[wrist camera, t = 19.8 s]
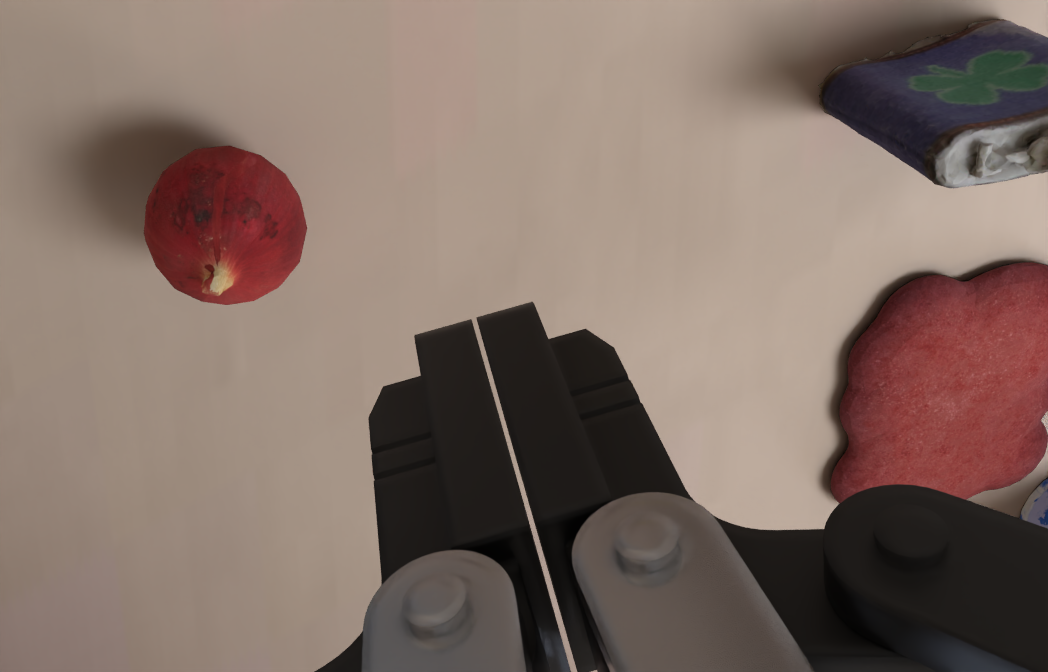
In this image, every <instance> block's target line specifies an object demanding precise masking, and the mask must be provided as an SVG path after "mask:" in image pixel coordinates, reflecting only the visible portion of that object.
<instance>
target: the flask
mask: <svg viewBox="0 0 1048 672" xmlns="http://www.w3.org/2000/svg"><path fill="white" fill-rule="evenodd" d="M968 27H969V28H968V29H967V30H966V29H965V30H963V31H961V32H957V33H954V34H950V35H945V36H942V37H941V35H938V36H935V37H933V38H929V37H927V38H926V39H924V40H923V41H917V42H916V43H915V44H914V45H913V44H912V47H910V48H909V49H907V50H906V51H905V52H904V53H898V54H895V53H893V52H892V51H890V52H889V53H888V54H886V55H885V56H883V57H882V58H880V59H876V60H870V59H867V58H865V60H862V61H859V62H852V63H849V64H846V65H840V66H838V67H837V68H836V69H835V70H833V71H832V72H831V73H830V75H829V76H828V77H827V78H826V79H825V81H824V82H823V83H821V84H820V85H818V86H819V87H820V88H821V91H820V95H819V96H820V105H821V106H822V108H823V109H824V112H825V113H827V114H829V115H831V116H833V117H835V118H836V119H838V120H840V121H841V122H843V123H844V124H846V125H848V126H849V127H850V128H852V129H853V130H855V131H856V132H858V133H859V134H860V135H862V136H864V137H866V138H868V139H869V140H871V141H873V142H874V143H876V144H878V145H879V146H881V147H883V148H884V149H885V150H886V151H888V152H889V153H891V154H893V155H894V156H895V157H897V158H899V159H900V160H901V161H903V162H905V163H906V164H908V165H909V166H911V167H913V168H914V169H916V170H917V171H918V172H920V173H921V174H923V175H924V176H925V177H927V178H928V179H929V180H931V181H932V182H933V183H934V184H937V185H940V186H944V187H947V188H959V187H966V186H972V185H982V184H990V183H996V182H1002V181H1007V180H1012V179H1016V178H1021V177H1025V176H1028V175H1030V174H1038V173H1044V172H1048V38H1047V37H1045V36H1043V35H1040V34H1038V33H1036V32H1033V31H1031V30H1029V29H1027V28H1025V27H1021V26H1018V25H1016V24H1015V23H1013V22H1011V21H1007V20H1004V19H1001V20H991V21H984V22H975V23H973V24H969V25H968Z"/></svg>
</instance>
